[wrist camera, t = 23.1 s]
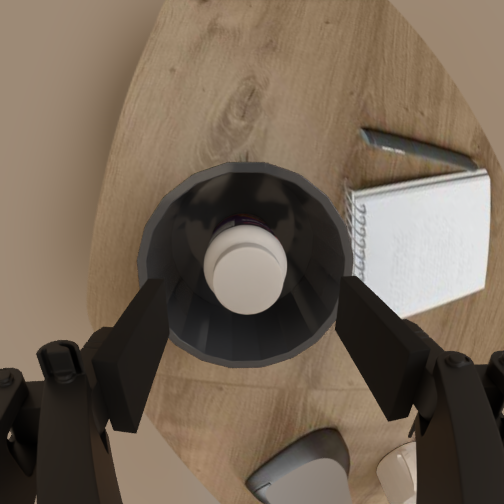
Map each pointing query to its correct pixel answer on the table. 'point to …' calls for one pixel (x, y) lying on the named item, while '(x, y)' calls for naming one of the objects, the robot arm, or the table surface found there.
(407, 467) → the mug
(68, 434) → the robot arm
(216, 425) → the table surface
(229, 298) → the pill bottle
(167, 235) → the canister
